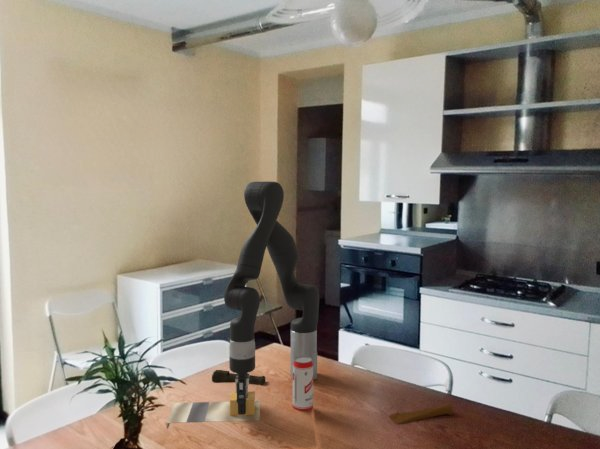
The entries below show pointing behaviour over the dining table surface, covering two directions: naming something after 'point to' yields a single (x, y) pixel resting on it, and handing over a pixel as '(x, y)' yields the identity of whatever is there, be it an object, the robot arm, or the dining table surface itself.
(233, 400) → the yellow block
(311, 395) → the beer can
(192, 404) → the board
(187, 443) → the dining table surface
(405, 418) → the primitive tool
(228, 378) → the black flashlight
